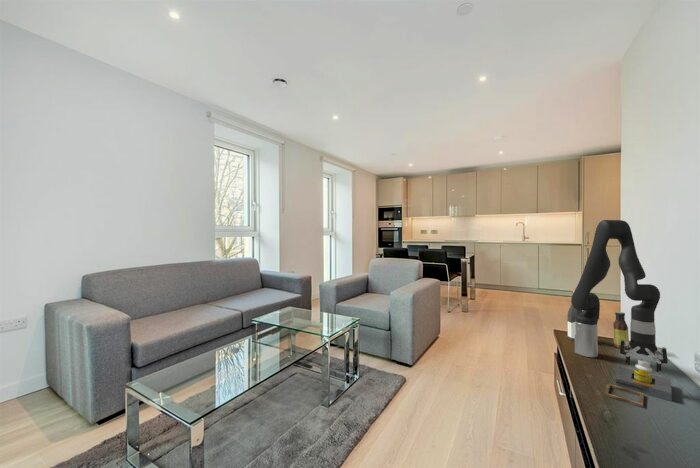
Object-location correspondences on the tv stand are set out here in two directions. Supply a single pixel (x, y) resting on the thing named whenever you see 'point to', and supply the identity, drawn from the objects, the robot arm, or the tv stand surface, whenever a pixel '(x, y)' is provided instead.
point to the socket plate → (644, 384)
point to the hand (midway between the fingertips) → (642, 368)
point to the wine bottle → (572, 322)
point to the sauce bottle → (620, 330)
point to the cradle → (625, 391)
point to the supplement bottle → (643, 371)
